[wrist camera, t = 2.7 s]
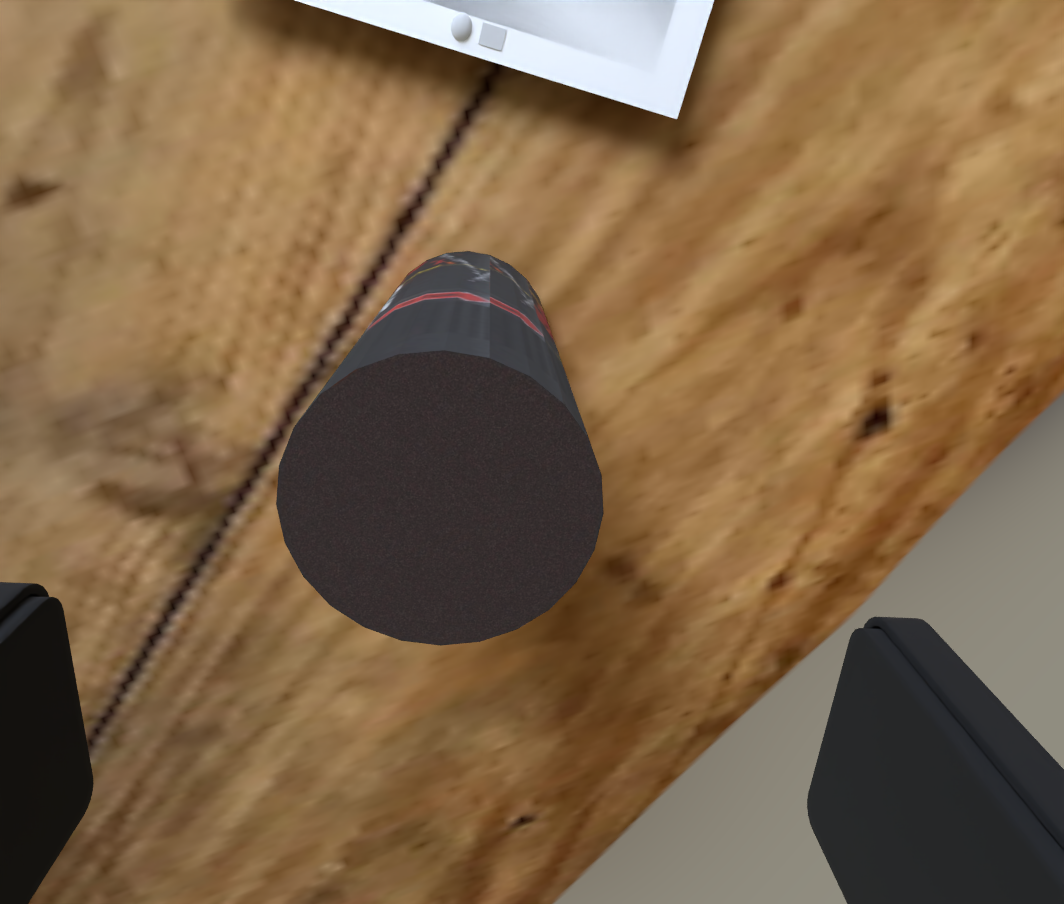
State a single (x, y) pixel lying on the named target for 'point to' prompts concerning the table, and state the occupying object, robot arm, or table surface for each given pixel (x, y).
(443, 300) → the deodorant
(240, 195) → the table surface
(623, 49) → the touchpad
